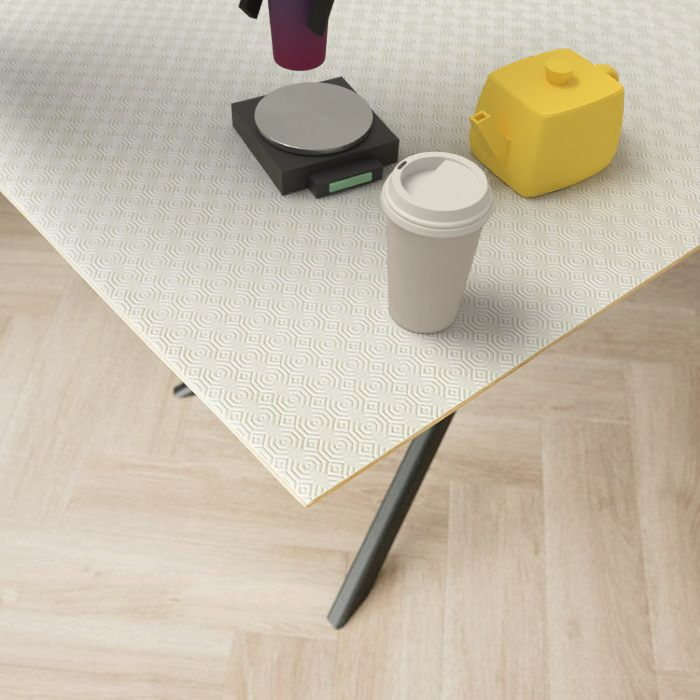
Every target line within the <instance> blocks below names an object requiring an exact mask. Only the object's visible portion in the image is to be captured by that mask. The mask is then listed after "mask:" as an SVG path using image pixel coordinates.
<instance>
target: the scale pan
mask: <svg viewBox="0 0 700 700" xmlns="http://www.w3.org/2000/svg"><path fill="white" fill-rule="evenodd" d="M319 82H320V81H316V82H315V81H313V82H312V81H311V82H309V81H308V82H307V81H306V82H298V83H292V84H288V85H284V86H282V87H279V88H276V89H274V90H272V91H271V92H269V93H267V94H265V95H266V96H265V97H264V98H262V100H261V101H260V102H259V103H258V105H257V107H256V110H255V115H254V117H255V126H256V129H257V131H258V132H259V134H260V135H261V136H262V138H263V139H265V140H266V141H267V142H268V143H270V144H271V145H273V146H275V147H277V148H279V149H282V150H284V151H287V152H291V153H296V154H301V155H328V154H334V153H338V152H342V151H345V150H348V149H350V148H352V147H354V146H356V145H358V144H359V143H360V142H362V141H363V140H364V139H365V138H366V137H367V136H368V134H369V133H370V131H371V128H372V123H373V114H372V110H373V109H372V108H371V106H370V104H369V103H368V101H367V100H366V99H364V97H362V96H361V95H360V94H359V93H358V92H357V93H355V92H353V91H351V90H349V89H347V88H344V87H341V86H337V85H333V84H328V83H319ZM371 109H372V110H371Z"/></svg>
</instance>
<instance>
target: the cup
mask: <svg viewBox="0 0 700 700" xmlns="http://www.w3.org/2000/svg"><path fill="white" fill-rule="evenodd" d="M312 3H313V0H267V9H268V17H269V26H270V27H269V28H270V38H271V47H272V58H273V61H274V63H275V64H276V65H277V66H278V67H280V68H283V69H285V70H289V71H293V72H304V71H305V72H308V71H312V70H315V69H317V68H319V67H320V66H322V65H323V64H324V63H325V61H326V56H327V44H328V31H329V30H328V29H329V19H330V18H329V19H328V22H327V25H326V28H325V31H324V35H323V37H321V36H317V35H315V34H314V33H313V32H312V31H311V30H310V29H309V28H308V27H307V26H306V22H307V19H308V16H309V13H310V10H311V6H312Z"/></svg>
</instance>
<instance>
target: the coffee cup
mask: <svg viewBox="0 0 700 700" xmlns="http://www.w3.org/2000/svg"><path fill="white" fill-rule="evenodd" d="M379 201H380V206H381V208H382V210H383V212H384V213H385V222H386V223H385V225H386V255H387V258H386V260H387V263H386V264H387V298H388V299H387V300H388V312H389V315H390V317H391V318H392V320H393V321H394V322H395V323H396V324H397V325H398V326H400V327H401V328H403V329H404V330H407V331H408V332H409V331H410V332H412V333H417V334H434V333H439V332H441V331H442V332H443V331H444V330H445V329H448V328H449V327H450V326H451V325H453V323H454V322H455V321H456V319H457V316H458V312H459V309H460V307H461V302H462V299H463V295H464V293H465V292H464V291H465V288H466V285H467V282H468V279H469V275H470V272H471V269H472V265H473V261H474V258H475V255H476V251H477V248H478V245H479V242H480V238H481V235H482V232H483V228H484V226H485V225H486V224H487V223H488V222H489V221H490V219H491V218H492V216H493V214H494V210H495V199H494V194H493V191H492V188H491V186H490V184H489V182H488V178H487V176H486V174H485V173H484V171H483V169H482V168H481V167H479V166H478V165H477V164H476V163H475V162H473V161H471V160H470V159H468V158H466V157H464V156H462V155H458V154H455V153H452V152H451V153H450V152H446V151H445V152H444V151H425V152H419V153H415V154H411V155H410V156H406V158H404V159H402V160H401V161H400V162H399V163H398V164H397V165H396V166H395V167H394V169H393V171H392V172H391V173H390V174H388V176H387V178H386V180H385V181H384V183H383V186H382V188H381V190H380V194H379Z"/></svg>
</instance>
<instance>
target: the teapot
mask: <svg viewBox="0 0 700 700" xmlns="http://www.w3.org/2000/svg"><path fill="white" fill-rule="evenodd" d="M624 107H625V87H624V85H623V84H621V83H620V76H619V73H618V72H617V70H616V69H615V68H613V66H611V65H609V64H606V63H598V64H595V63H593V62H591V61H590V60H588V59H587V58H586V57H584V56H582V55H580V54H579V53H577V52H576V51H574V50H572V49H570V48H568V47H567V48H565V47H564V48H558V49H553V50H549V51H545V52H541V53H538V54H534V55H531V56H528V57H523V58H522V59H519V60H515V61H514V62H511V63H508V64H506V65H502V66H501V67H499V68H496V69H495V70H492V71H491V72H490V73H489V74H488V76H487V78H486V80H485V82H484V84H483V87H482V90H481V93H480V95H479V98H478V100H477V103H476V106H475V109H474V113H473V115H471V116H470V117H469V122H470V129H469V135H468V137H469V140H468V141H469V148H470V152H471V153H472V155H473V156H474V157H475V158H476V159H477V160H478V161H479V162H480V163H481V164H483V166H485V168H487V170H489V171H490V172H491V173H493V175H494V176H495V177H497V178H498V179H500V180H501V181H502V182H503V183H504V184H506V185H507V186H508V187H509V188H510V189H512V190H513V191H514V192H515V193H517V194H518V195H520V196H521V197H523V198H527V199H529V198H535V197H540V196H544V195H547V194H550V193H553V192H554V193H555V192H556V191H560V190H563V189H566V188H568V187H569V188H570V187H572V186H574V185H575V184H578V183H581V182H582V181H585V180H587V179H589V178H591V177H592V176H595V175H597V174H598V173H600V172H602V171H603V170H605V169H606V168H607V167H608V166H609V165H610V163H611V162H612V160H613V158H614V157H615V155H616V153H617V150H618V147H619V143H620V138H621V133H622V128H623V120H624V109H625V108H624Z"/></svg>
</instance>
